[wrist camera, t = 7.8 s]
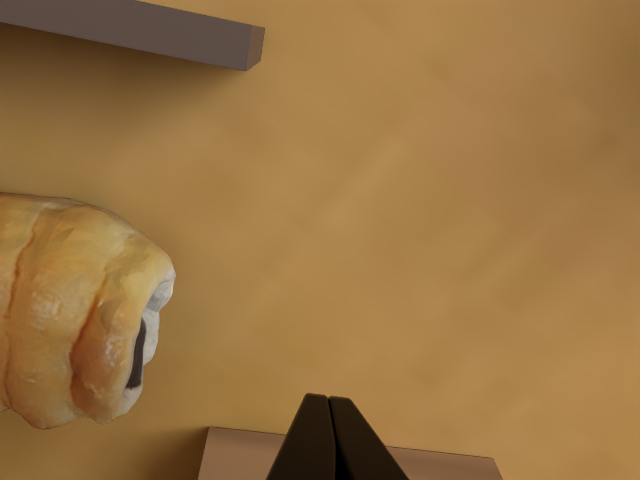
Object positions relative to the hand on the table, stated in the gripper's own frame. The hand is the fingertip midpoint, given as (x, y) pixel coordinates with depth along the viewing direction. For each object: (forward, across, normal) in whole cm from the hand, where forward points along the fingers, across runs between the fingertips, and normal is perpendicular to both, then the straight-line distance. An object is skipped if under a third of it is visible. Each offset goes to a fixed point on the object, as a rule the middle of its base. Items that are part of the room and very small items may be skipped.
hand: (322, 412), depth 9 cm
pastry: (+7, +8, +2) cm, 11 cm away
